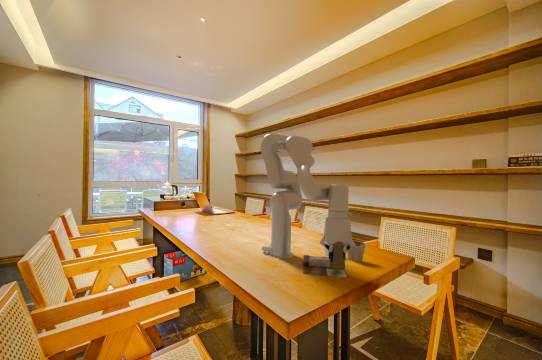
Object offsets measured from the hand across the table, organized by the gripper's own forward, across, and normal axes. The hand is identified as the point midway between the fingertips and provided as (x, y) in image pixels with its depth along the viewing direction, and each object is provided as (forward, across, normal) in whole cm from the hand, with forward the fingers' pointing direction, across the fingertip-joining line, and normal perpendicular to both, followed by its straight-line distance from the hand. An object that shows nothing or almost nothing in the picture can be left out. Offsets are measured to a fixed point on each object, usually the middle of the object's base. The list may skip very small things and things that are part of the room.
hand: (336, 261), depth 93 cm
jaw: (+4, +6, -5) cm, 9 cm away
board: (+6, +5, -4) cm, 8 cm away
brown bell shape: (+2, 0, 0) cm, 2 cm away
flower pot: (+6, -11, -19) cm, 23 cm away
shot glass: (+6, 0, -23) cm, 23 cm away
